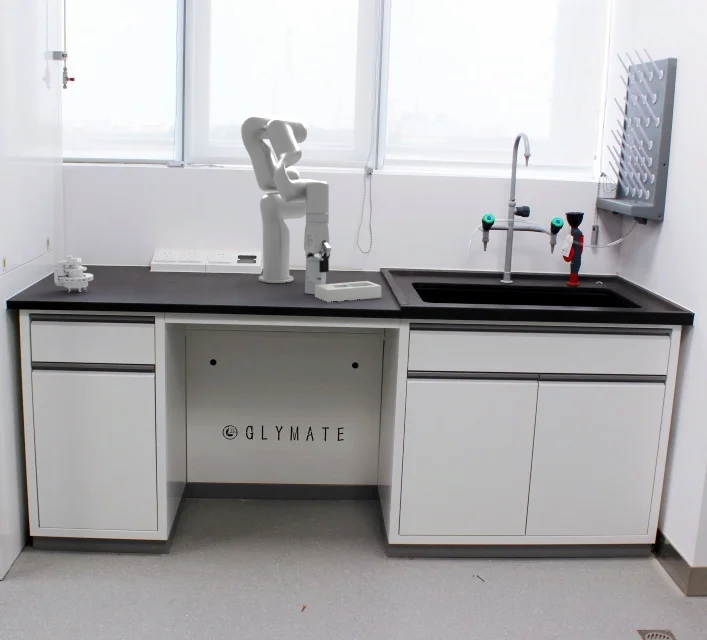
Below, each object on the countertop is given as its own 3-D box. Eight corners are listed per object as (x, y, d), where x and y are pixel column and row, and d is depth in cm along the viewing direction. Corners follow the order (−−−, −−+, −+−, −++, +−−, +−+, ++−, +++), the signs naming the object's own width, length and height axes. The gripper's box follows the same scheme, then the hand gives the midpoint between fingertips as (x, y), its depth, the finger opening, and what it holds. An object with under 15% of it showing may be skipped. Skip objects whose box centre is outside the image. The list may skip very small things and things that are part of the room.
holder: (315, 297, 261) (315, 285, 260) (367, 292, 270) (367, 281, 270) (327, 302, 253) (327, 290, 252) (380, 297, 263) (381, 285, 262)
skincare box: (304, 293, 266) (304, 257, 263) (310, 291, 270) (310, 256, 267) (320, 295, 264) (321, 259, 261) (326, 293, 268) (327, 257, 265)
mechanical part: (82, 296, 253) (80, 259, 250) (48, 293, 255) (46, 257, 252) (100, 289, 263) (99, 254, 261) (68, 287, 266) (65, 252, 263)
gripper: (295, 217, 266) (296, 267, 270) (319, 221, 252) (319, 274, 255) (315, 216, 270) (315, 266, 274) (339, 220, 255) (339, 272, 259)
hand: (317, 270), depth 264 cm, fingers open, 9 cm apart
